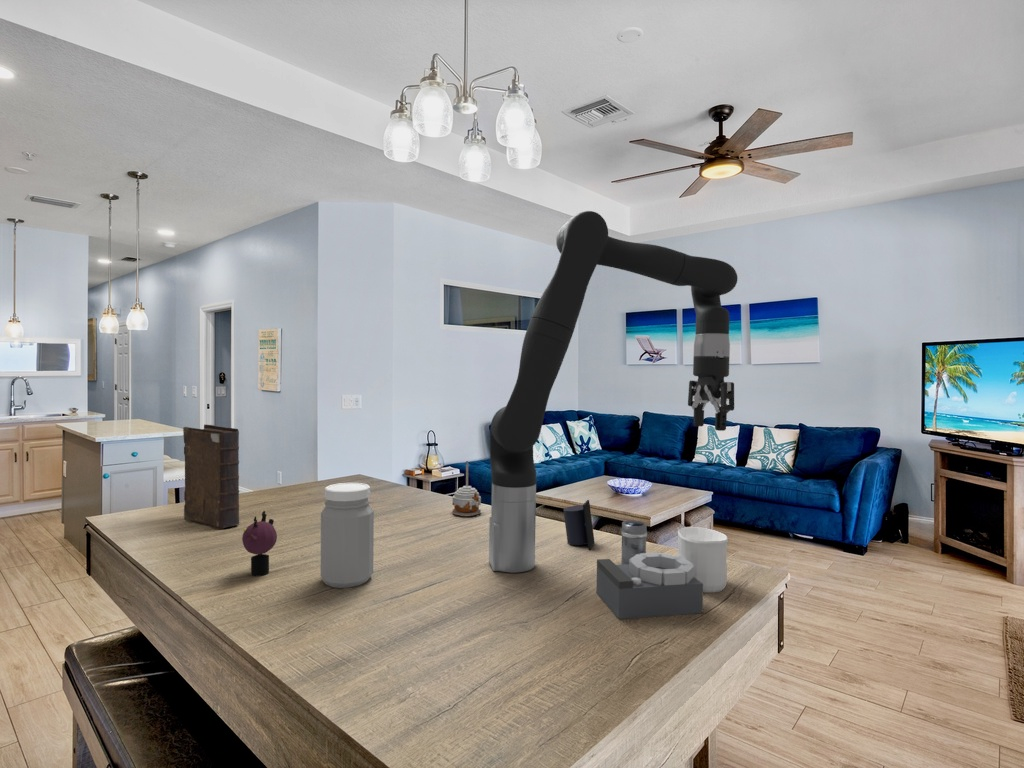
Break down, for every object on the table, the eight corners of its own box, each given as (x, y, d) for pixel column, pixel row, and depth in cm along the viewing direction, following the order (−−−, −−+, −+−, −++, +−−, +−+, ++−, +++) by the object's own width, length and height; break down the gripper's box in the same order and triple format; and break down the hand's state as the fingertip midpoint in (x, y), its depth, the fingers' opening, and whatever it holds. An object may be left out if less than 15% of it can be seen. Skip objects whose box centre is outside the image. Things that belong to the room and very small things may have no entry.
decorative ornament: (479, 518, 155) (480, 463, 155) (451, 517, 155) (451, 463, 155) (481, 510, 163) (482, 459, 163) (454, 510, 163) (455, 458, 163)
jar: (383, 574, 112) (383, 483, 111) (353, 592, 103) (354, 494, 102) (341, 568, 115) (341, 480, 114) (309, 585, 106) (309, 489, 105)
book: (242, 526, 144) (242, 428, 143) (213, 532, 138) (213, 430, 137) (209, 515, 154) (209, 423, 153) (182, 521, 148) (181, 425, 147)
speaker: (602, 543, 133) (598, 499, 133) (590, 550, 129) (585, 505, 129) (575, 540, 138) (571, 497, 138) (562, 546, 133) (558, 503, 133)
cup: (701, 597, 103) (703, 544, 102) (663, 579, 112) (664, 530, 111) (738, 588, 107) (740, 537, 107) (698, 571, 116) (699, 524, 116)
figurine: (273, 563, 117) (273, 505, 117) (289, 573, 111) (289, 513, 111) (232, 572, 111) (232, 512, 111) (246, 584, 106) (247, 520, 105)
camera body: (618, 619, 93) (619, 576, 93) (596, 592, 104) (597, 555, 104) (703, 612, 96) (704, 572, 96) (673, 588, 107) (674, 551, 107)
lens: (626, 571, 115) (627, 526, 115) (616, 562, 121) (617, 519, 120) (650, 569, 116) (651, 525, 116) (640, 561, 122) (641, 519, 121)
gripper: (679, 355, 131) (677, 425, 131) (714, 353, 117) (712, 432, 118) (708, 356, 133) (706, 425, 133) (746, 354, 119) (744, 431, 119)
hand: (709, 428), depth 125 cm, fingers open, 8 cm apart
